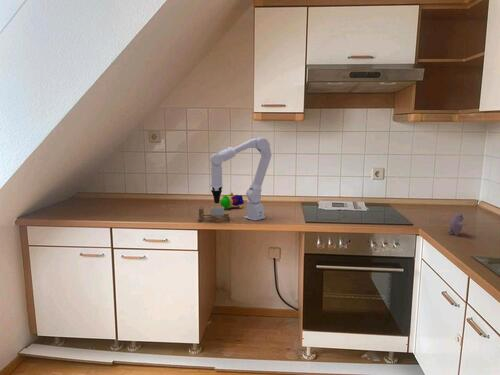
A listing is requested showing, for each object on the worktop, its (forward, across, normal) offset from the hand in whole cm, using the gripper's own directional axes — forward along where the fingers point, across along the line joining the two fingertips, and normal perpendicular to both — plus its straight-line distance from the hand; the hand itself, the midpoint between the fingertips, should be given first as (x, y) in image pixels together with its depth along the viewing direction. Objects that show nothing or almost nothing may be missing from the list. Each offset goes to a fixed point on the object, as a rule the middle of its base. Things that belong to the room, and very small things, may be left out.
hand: (217, 201), depth 199 cm
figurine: (+10, +34, +112) cm, 117 cm away
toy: (+10, -27, +8) cm, 30 cm away
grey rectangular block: (+9, 0, 0) cm, 9 cm away
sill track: (+10, 0, -2) cm, 10 cm away
